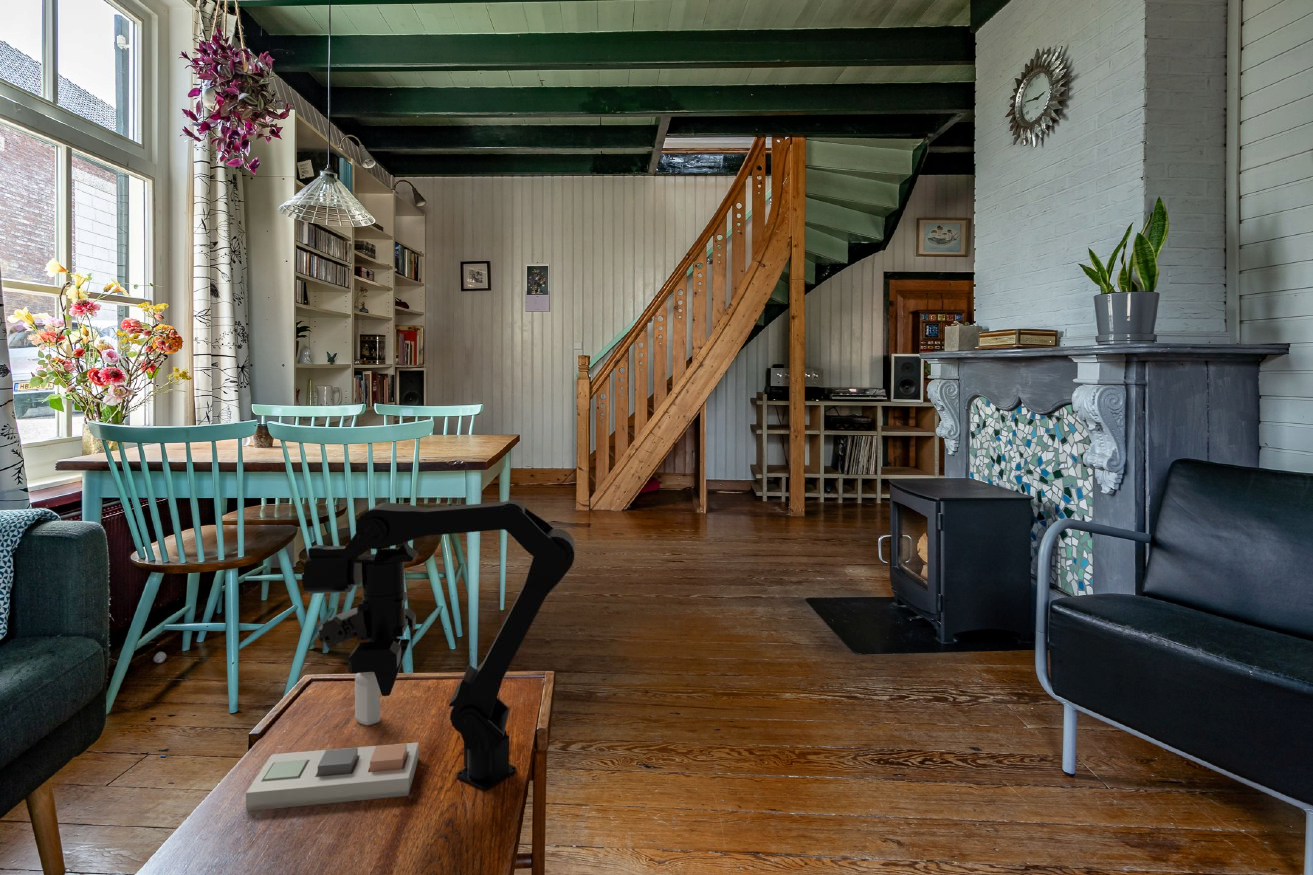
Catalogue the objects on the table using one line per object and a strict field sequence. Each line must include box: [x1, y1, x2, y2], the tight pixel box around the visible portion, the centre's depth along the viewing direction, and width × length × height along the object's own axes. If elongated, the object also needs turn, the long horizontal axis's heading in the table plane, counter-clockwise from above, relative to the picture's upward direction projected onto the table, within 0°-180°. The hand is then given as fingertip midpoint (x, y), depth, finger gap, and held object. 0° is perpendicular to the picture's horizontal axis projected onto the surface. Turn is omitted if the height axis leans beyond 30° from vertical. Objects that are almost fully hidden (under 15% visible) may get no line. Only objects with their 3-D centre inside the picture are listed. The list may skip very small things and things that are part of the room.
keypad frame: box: [245, 742, 420, 812], centre depth 99 cm, size 21×10×3 cm, turn 102°
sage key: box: [264, 759, 307, 781], centre depth 98 cm, size 4×4×2 cm
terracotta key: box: [370, 743, 407, 772], centre depth 101 cm, size 4×4×2 cm
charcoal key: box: [318, 747, 358, 777], centre depth 99 cm, size 4×4×2 cm
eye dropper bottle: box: [354, 672, 381, 726], centre depth 118 cm, size 4×6×12 cm
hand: (386, 694), depth 100 cm, fingers closed
